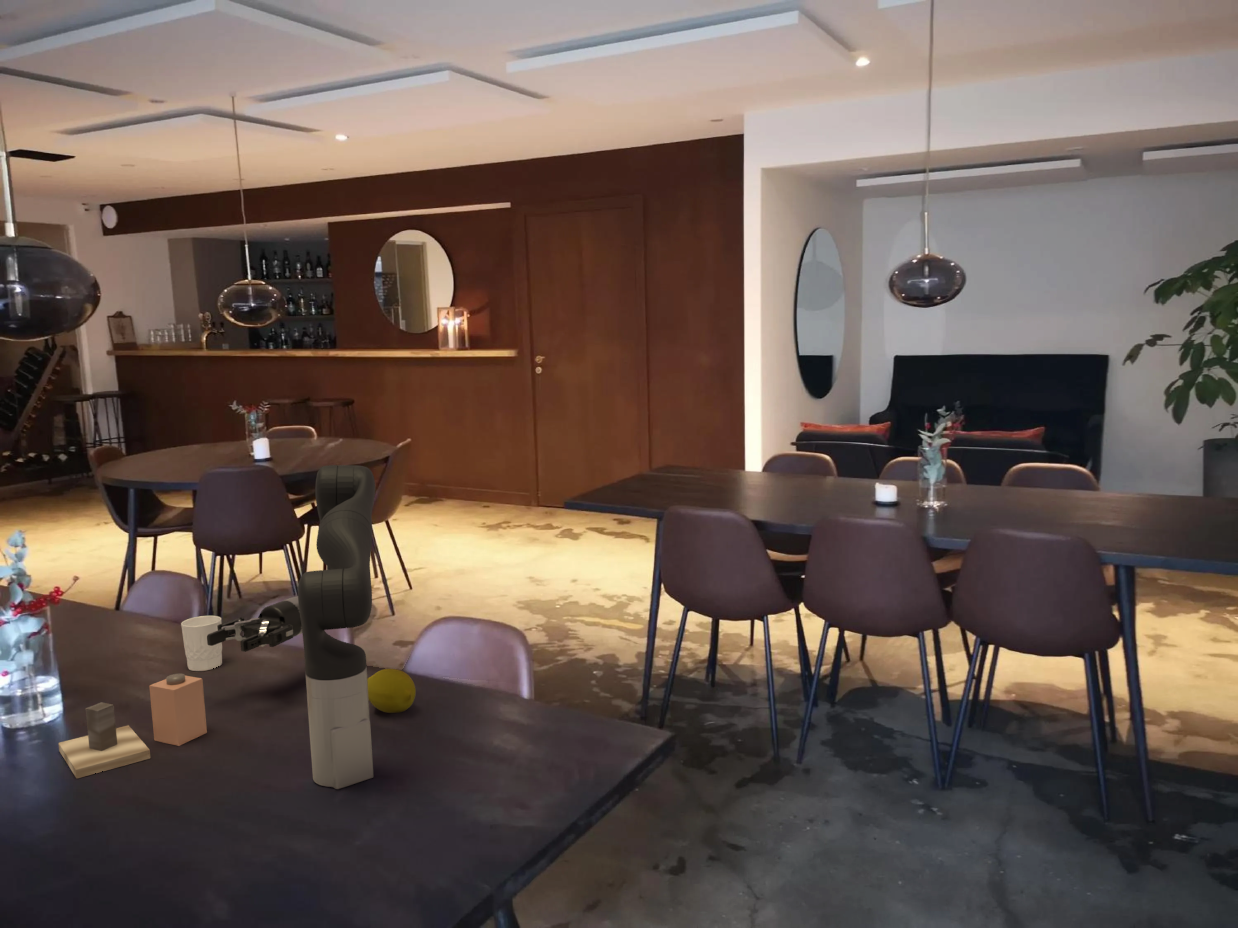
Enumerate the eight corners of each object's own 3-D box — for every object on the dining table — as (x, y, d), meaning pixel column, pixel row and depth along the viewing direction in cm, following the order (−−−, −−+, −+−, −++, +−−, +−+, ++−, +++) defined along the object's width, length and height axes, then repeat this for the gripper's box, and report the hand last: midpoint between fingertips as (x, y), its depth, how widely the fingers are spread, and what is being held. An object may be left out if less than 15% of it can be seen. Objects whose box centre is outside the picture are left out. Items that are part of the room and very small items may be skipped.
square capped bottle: (206, 732, 172) (201, 672, 171) (178, 745, 167) (173, 684, 165) (182, 727, 175) (177, 668, 173) (154, 740, 170) (148, 679, 168)
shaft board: (150, 758, 162) (145, 709, 161) (76, 778, 155) (71, 727, 154) (129, 733, 173) (124, 687, 172) (59, 751, 166) (54, 703, 165)
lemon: (426, 711, 179) (424, 670, 178) (390, 724, 174) (388, 682, 173) (392, 697, 187) (390, 657, 186) (357, 710, 181) (354, 668, 180)
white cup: (231, 660, 211) (228, 615, 210) (213, 672, 204) (209, 626, 202) (197, 659, 212) (193, 615, 211) (177, 672, 204) (173, 626, 203)
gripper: (261, 596, 196) (195, 619, 182) (315, 603, 190) (252, 628, 176) (263, 632, 197) (199, 657, 183) (318, 640, 191) (255, 668, 177)
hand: (225, 643), depth 179 cm, fingers open, 8 cm apart
